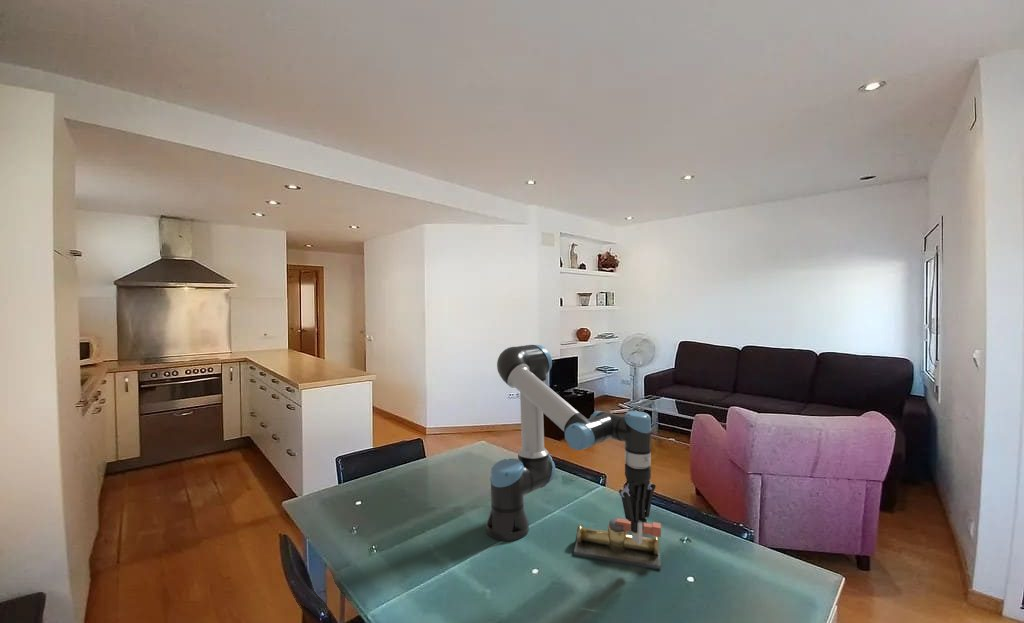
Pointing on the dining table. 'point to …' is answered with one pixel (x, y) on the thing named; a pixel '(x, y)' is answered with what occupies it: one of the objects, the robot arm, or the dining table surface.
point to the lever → (626, 525)
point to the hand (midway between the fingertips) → (637, 541)
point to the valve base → (618, 555)
